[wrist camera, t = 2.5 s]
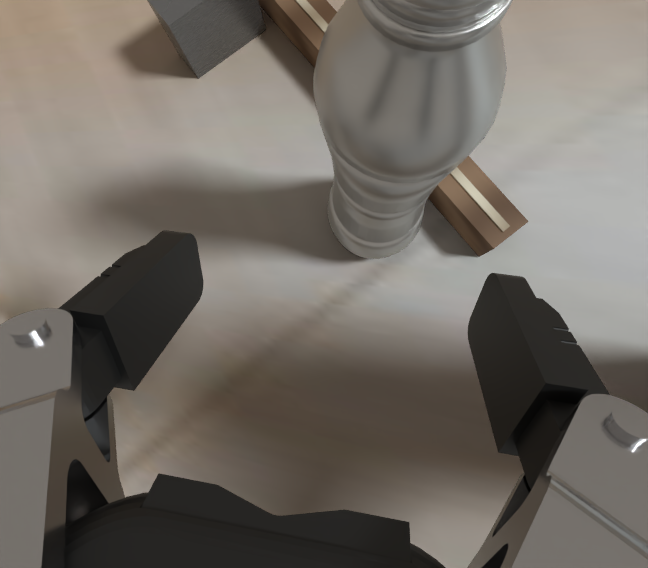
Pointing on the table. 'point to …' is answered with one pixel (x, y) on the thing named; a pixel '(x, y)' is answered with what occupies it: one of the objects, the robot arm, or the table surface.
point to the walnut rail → (457, 187)
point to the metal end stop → (208, 28)
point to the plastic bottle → (403, 108)
